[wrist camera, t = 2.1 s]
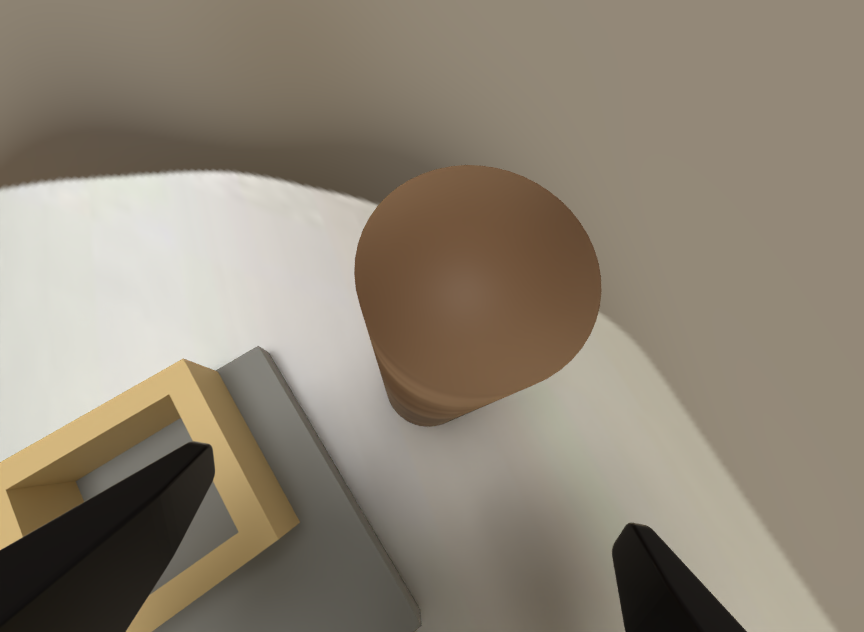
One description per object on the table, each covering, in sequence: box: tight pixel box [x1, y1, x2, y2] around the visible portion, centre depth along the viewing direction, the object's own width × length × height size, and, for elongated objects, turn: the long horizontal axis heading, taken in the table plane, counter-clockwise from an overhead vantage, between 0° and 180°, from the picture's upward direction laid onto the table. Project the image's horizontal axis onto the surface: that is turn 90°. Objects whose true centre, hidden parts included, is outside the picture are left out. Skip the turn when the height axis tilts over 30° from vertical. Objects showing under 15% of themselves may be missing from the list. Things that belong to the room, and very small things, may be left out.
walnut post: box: [354, 165, 601, 426], centre depth 13 cm, size 4×4×14 cm
